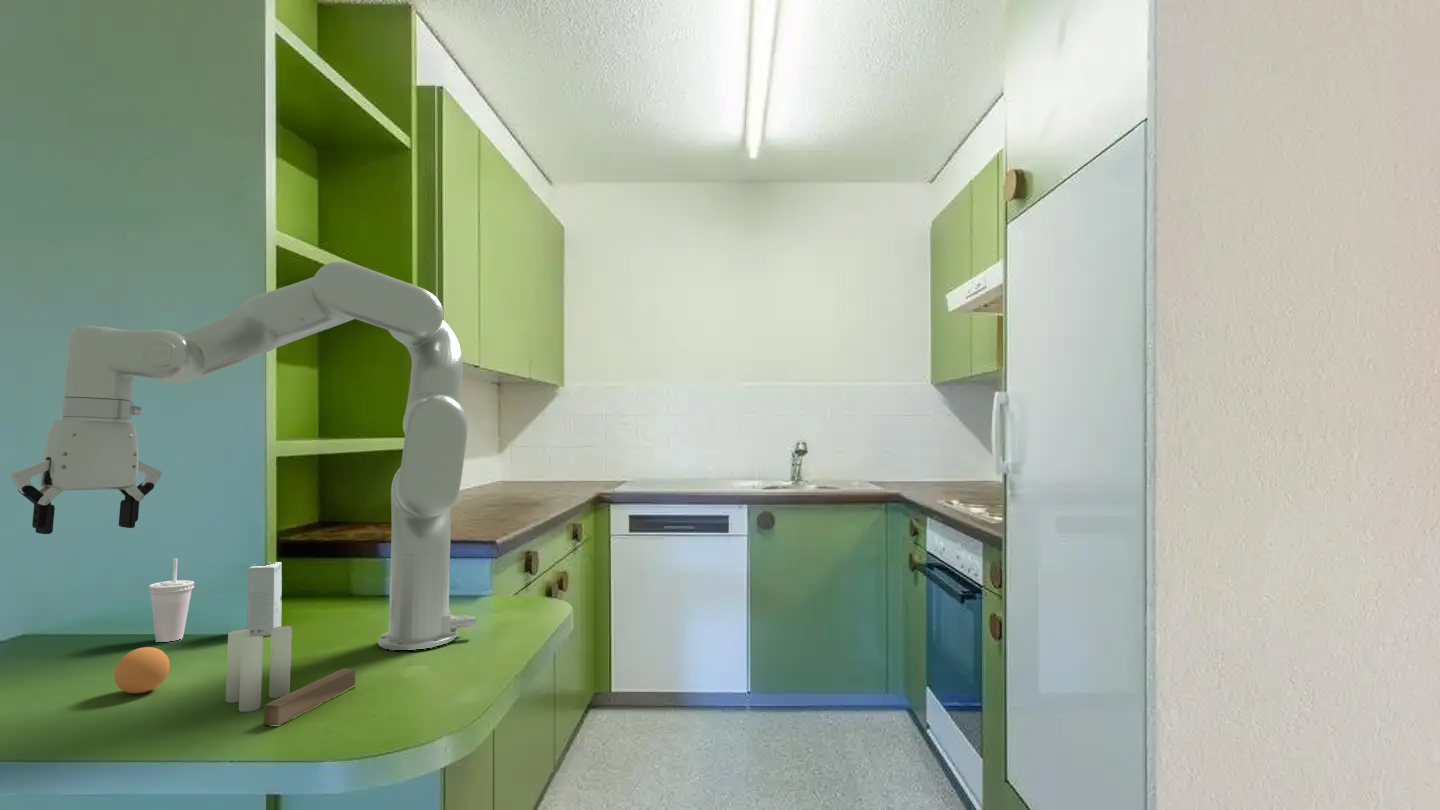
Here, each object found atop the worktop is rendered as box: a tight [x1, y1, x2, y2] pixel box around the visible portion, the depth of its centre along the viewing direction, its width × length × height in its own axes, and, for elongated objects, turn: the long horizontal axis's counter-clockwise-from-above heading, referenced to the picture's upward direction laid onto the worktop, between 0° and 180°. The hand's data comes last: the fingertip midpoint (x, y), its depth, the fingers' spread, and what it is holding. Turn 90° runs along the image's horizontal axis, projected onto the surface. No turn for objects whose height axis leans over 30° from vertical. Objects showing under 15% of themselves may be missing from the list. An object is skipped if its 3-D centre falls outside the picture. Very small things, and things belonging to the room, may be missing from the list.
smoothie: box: [147, 557, 195, 643], centre depth 124 cm, size 6×6×14 cm
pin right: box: [268, 625, 293, 699], centre depth 98 cm, size 2×2×9 cm
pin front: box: [225, 628, 250, 704], centre depth 96 cm, size 2×2×9 cm
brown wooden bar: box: [263, 668, 356, 726], centre depth 94 cm, size 2×14×2 cm, turn 170°
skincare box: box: [246, 561, 283, 637], centre depth 129 cm, size 6×4×12 cm
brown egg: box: [113, 646, 171, 694], centre depth 98 cm, size 6×6×6 cm
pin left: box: [238, 636, 264, 713], centre depth 93 cm, size 2×2×9 cm
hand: (86, 530), depth 103 cm, fingers open, 9 cm apart
